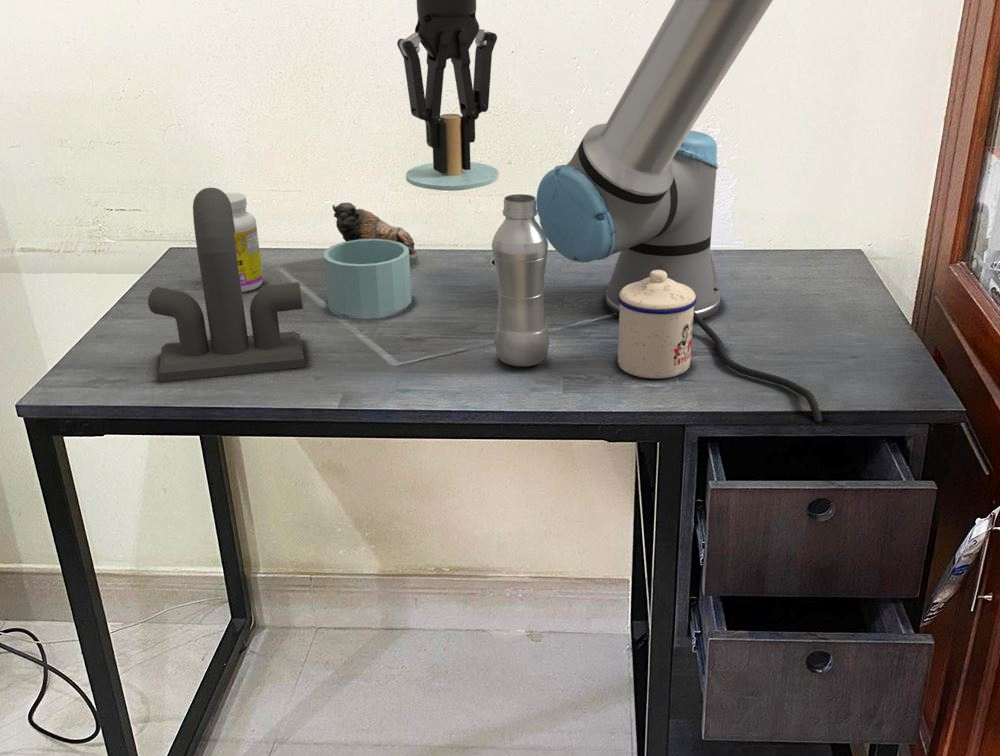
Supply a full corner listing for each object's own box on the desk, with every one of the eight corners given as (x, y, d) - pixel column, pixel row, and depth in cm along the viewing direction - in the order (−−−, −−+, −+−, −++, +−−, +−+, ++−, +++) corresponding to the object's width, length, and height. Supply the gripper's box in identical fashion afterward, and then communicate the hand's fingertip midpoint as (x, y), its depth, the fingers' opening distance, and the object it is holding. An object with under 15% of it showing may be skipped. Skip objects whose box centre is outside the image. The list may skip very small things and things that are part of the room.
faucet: (301, 320, 153) (284, 169, 143) (310, 366, 140) (291, 203, 130) (161, 334, 150) (134, 180, 140) (156, 382, 137) (126, 216, 127)
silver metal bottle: (532, 377, 136) (531, 209, 126) (484, 365, 139) (479, 201, 129) (559, 358, 140) (560, 195, 130) (512, 347, 144) (509, 188, 134)
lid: (515, 186, 154) (514, 119, 149) (429, 199, 149) (426, 130, 144) (473, 165, 163) (471, 102, 159) (391, 177, 158) (387, 112, 154)
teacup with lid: (689, 383, 133) (696, 287, 128) (611, 378, 135) (614, 283, 129) (695, 344, 144) (701, 253, 138) (622, 339, 145) (626, 250, 139)
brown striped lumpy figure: (418, 260, 174) (414, 193, 169) (420, 275, 168) (416, 207, 163) (338, 264, 173) (332, 197, 168) (337, 279, 167) (331, 210, 162)
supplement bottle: (207, 290, 164) (193, 201, 157) (233, 276, 169) (221, 189, 163) (247, 296, 162) (235, 205, 155) (272, 281, 167) (261, 193, 160)
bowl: (425, 309, 156) (422, 256, 152) (347, 326, 151) (342, 271, 147) (391, 285, 164) (387, 234, 161) (316, 300, 160) (310, 247, 156)
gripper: (488, -28, 149) (491, 156, 161) (375, -19, 143) (387, 170, 155) (515, -22, 144) (516, 167, 155) (399, -13, 137) (409, 183, 149)
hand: (452, 169), depth 155 cm, fingers closed on lid, 3 cm apart
